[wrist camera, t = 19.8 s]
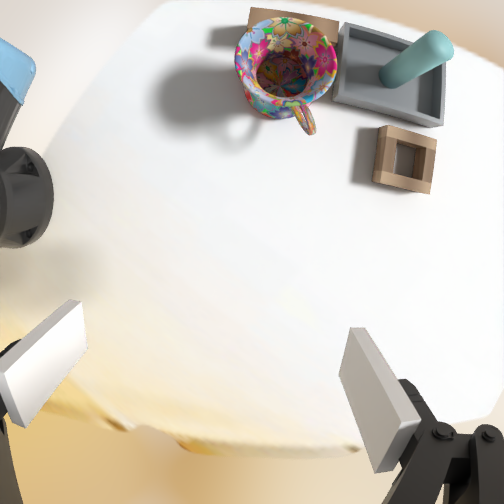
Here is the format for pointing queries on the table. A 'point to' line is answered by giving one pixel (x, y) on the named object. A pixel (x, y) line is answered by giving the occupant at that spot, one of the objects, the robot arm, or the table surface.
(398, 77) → the dowel
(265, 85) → the mug
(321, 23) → the block
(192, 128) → the table surface
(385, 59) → the tray
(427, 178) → the socket
